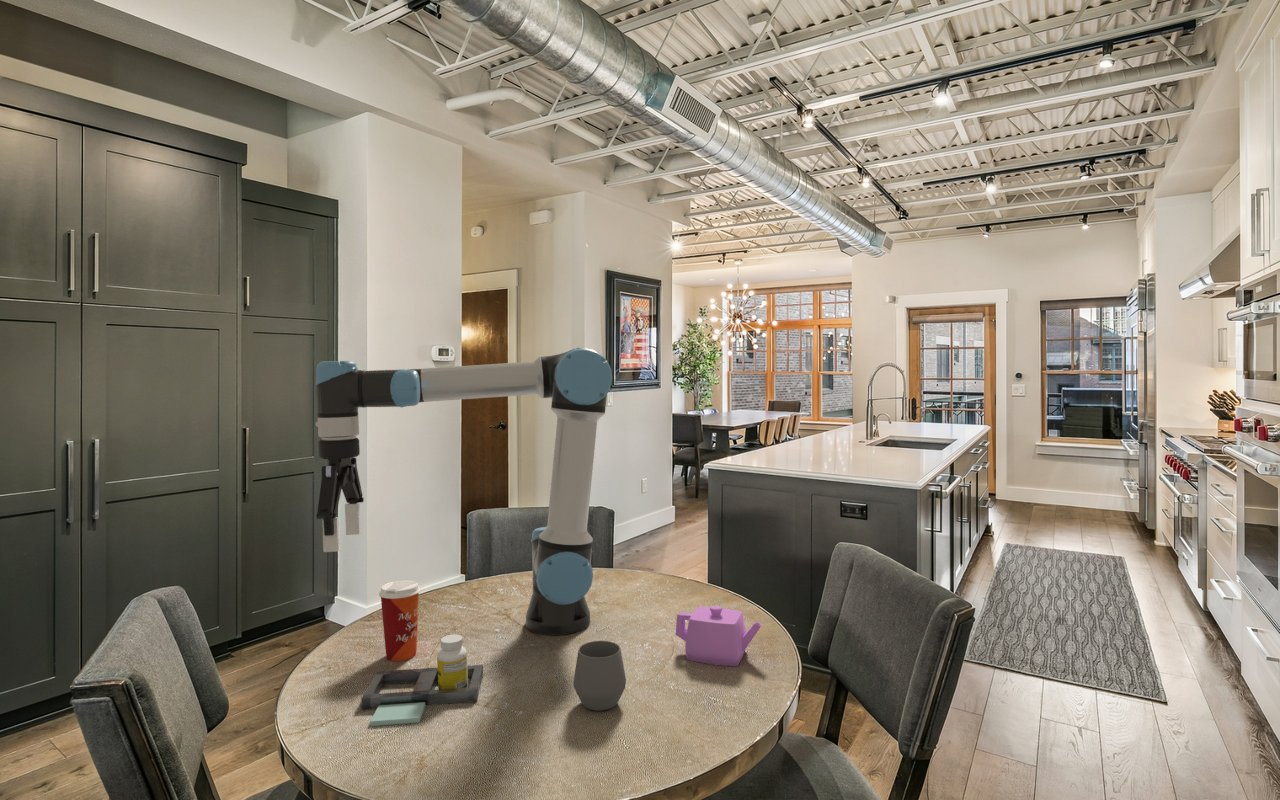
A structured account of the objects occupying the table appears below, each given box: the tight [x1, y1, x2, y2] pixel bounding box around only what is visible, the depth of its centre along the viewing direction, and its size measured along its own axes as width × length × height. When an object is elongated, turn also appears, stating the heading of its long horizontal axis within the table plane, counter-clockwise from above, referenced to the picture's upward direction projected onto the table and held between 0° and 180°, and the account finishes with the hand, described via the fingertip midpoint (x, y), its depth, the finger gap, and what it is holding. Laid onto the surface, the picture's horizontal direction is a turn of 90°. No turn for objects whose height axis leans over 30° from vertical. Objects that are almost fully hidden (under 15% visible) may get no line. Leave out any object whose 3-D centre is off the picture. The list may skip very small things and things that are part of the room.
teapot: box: [675, 605, 762, 667], centre depth 142 cm, size 18×10×10 cm, turn 71°
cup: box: [572, 640, 627, 712], centre depth 121 cm, size 10×9×10 cm
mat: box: [369, 702, 426, 727], centre depth 118 cm, size 8×6×1 cm
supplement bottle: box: [436, 634, 469, 690], centre depth 127 cm, size 5×5×10 cm
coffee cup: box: [378, 579, 421, 662], centre depth 143 cm, size 8×8×15 cm
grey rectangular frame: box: [361, 664, 484, 711], centre depth 127 cm, size 20×11×2 cm, turn 98°
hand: (342, 542), depth 137 cm, fingers open, 13 cm apart
